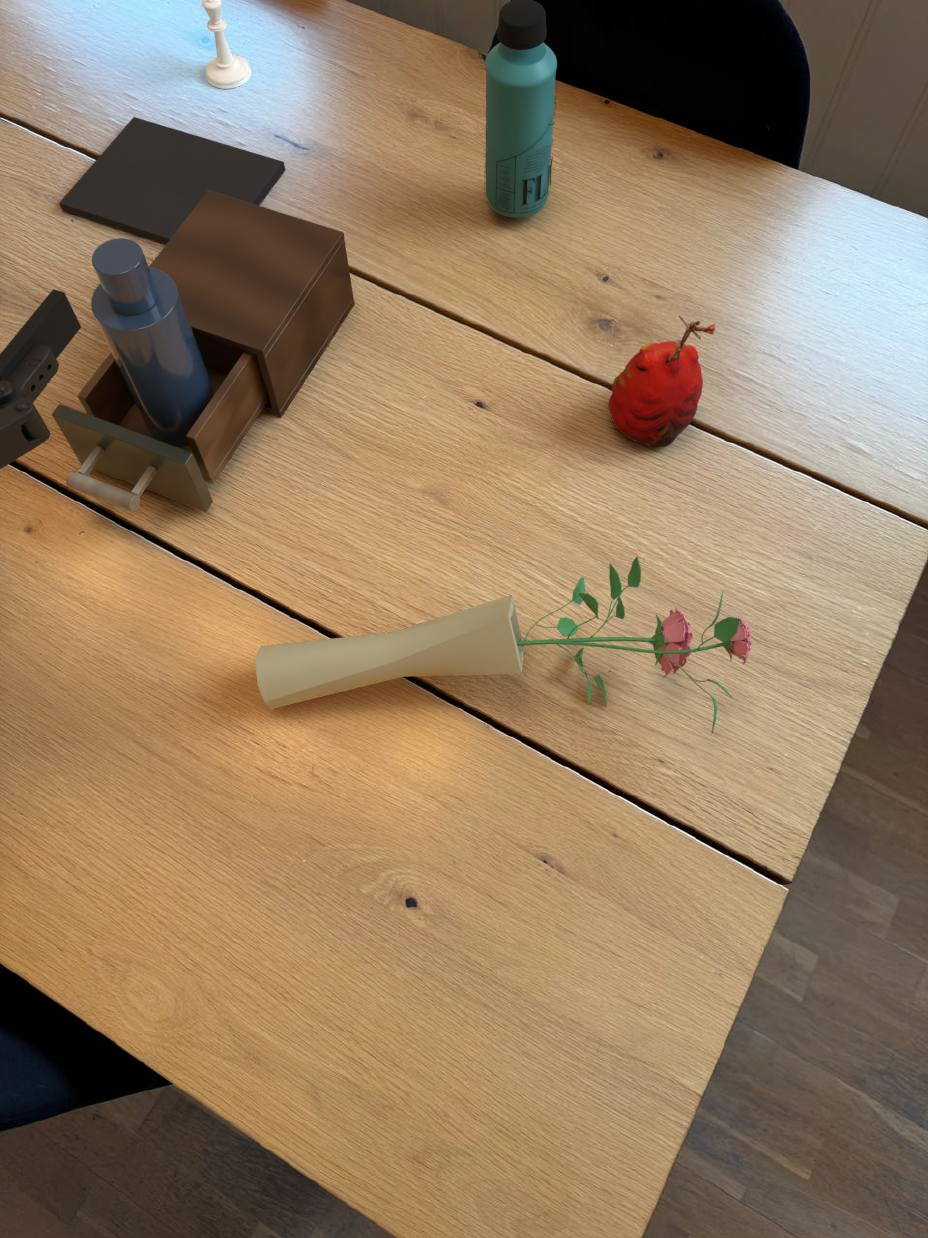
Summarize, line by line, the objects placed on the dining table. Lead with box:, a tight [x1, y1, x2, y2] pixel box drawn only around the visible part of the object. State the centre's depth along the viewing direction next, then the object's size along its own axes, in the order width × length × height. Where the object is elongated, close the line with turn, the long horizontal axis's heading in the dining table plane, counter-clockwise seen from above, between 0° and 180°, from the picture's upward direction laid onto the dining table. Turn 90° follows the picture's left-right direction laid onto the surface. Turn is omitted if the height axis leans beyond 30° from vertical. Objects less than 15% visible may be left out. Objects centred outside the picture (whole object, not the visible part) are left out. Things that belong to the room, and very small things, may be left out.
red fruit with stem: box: [608, 314, 716, 449], centre depth 83 cm, size 8×7×15 cm
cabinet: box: [148, 190, 355, 418], centre depth 91 cm, size 15×14×9 cm
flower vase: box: [255, 555, 753, 735], centre depth 75 cm, size 12×12×35 cm
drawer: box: [51, 333, 269, 513], centre depth 85 cm, size 18×12×7 cm
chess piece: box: [201, 0, 252, 90], centre depth 107 cm, size 5×5×10 cm
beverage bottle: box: [483, 0, 558, 219], centre depth 93 cm, size 6×7×20 cm
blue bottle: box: [90, 237, 215, 446], centre depth 80 cm, size 6×6×18 cm
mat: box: [58, 116, 286, 246], centre depth 103 cm, size 18×14×1 cm
